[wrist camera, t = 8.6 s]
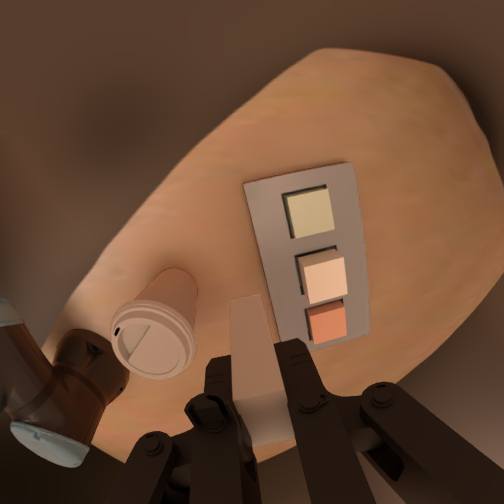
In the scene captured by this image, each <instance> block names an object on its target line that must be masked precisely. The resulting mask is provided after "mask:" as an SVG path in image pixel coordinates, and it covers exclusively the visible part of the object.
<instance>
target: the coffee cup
mask: <svg viewBox="0 0 504 504" xmlns="http://www.w3.org/2000/svg"><path fill="white" fill-rule="evenodd" d="M197 292H198V289H197V284H196V282H195V280H194V279H193V277H192V276H191V275H190V274H189V273H187V272H186V271H184V270H181V269H177V268H170V269H166V270H164V271H162V272H161V273H160V274H159V275H158V276H157V277H156V278H155V279H154V280H153V281H152V282H151V283H150V284H149V285H148V286H147V287H146V288H145V289H144V290H143V291H142V292H141V293H140V294H139V295H138V296H137V297H136V298H135V299H134V300H133V301H131V302H128V303H126V304H124V305H123V306H121V307H120V308H119V309H118V310H117V312H116V313H115V315H114V317H113V320H112V324H111V340H112V347H113V350H114V353H115V355H116V356H117V358H118V359H119V361H120V362H121V363H122V364H123V365H124V366H125V367H126V368H127V369H129V370H130V371H131V372H133V373H135V374H137V375H139V376H141V377H144V378H147V379H152V380H165V379H169V378H172V377H174V376H176V375H177V374H179V373H180V372H182V371H183V370H184V369H185V368H187V367H188V366H189V364H190V363H191V362H192V360H193V359H194V357H195V354H196V350H197V341H196V336H195V333H194V322H195V312H196V302H197Z"/></svg>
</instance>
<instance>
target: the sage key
mask: <svg viewBox="0 0 504 504" xmlns="http://www.w3.org/2000/svg"><path fill="white" fill-rule="evenodd" d="M283 200H284V204H285V209H286V213H287V218H288V223H289V228H290V232H291V233H292V235H293V236H294V237H295V238H296V239H297V238H301V237H305V236H309V235H313V234H317V233H322V232H326V231H330V230H334V229H335V226H334V220H333V214H332V208H331V203H330V197H329V192H328V189H327V188H323V187H315V188H311V189H306V190H301V191H297V192H292V193H288V194H283Z"/></svg>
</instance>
